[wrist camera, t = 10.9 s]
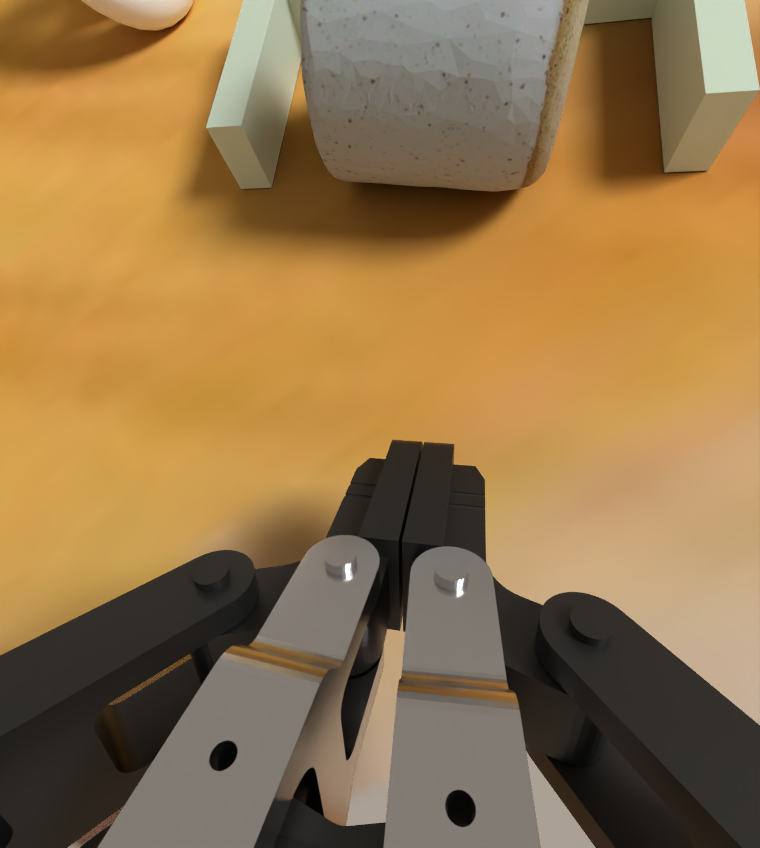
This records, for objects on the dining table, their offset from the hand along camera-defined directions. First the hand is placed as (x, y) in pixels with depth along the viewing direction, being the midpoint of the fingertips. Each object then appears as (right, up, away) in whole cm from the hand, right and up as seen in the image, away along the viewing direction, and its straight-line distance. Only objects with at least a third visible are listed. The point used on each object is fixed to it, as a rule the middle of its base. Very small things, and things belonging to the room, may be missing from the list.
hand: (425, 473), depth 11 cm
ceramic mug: (+2, +14, +8) cm, 16 cm away
